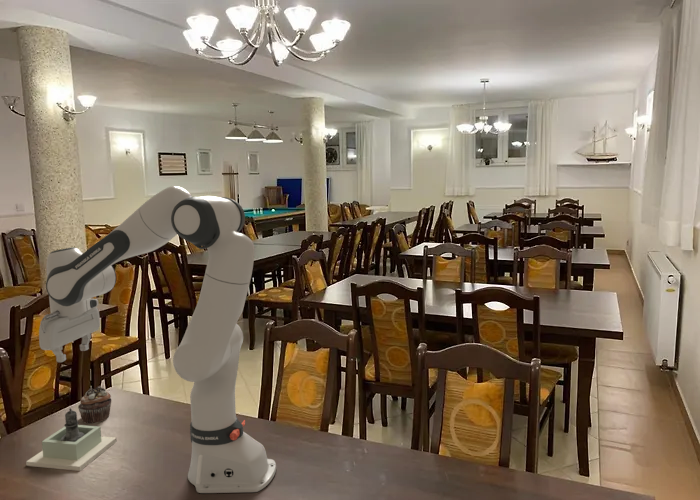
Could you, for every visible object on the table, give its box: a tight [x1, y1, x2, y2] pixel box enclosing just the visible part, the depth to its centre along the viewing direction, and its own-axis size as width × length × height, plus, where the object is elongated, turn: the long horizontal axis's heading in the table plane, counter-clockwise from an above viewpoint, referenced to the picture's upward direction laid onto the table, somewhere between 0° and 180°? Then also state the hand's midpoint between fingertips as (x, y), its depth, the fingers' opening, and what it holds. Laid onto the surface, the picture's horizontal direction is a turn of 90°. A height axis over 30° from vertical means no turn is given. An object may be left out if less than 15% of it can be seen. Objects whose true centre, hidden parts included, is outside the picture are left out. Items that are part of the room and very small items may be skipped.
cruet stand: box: [25, 424, 117, 472], centre depth 149 cm, size 16×16×6 cm
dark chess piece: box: [61, 407, 84, 442], centre depth 149 cm, size 6×6×12 cm
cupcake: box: [77, 385, 113, 425], centre depth 171 cm, size 10×10×10 cm
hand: (73, 355), depth 148 cm, fingers open, 8 cm apart
